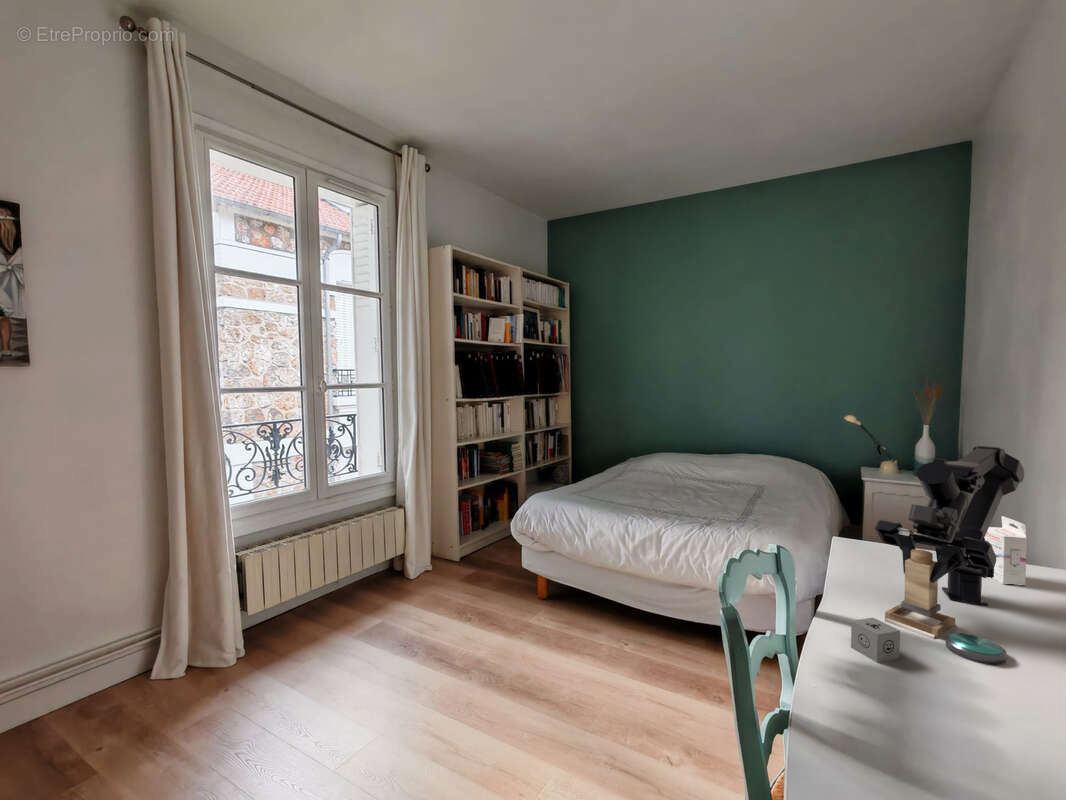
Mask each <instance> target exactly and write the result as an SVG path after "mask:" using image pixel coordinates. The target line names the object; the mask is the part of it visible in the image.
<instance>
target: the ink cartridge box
mask: <svg viewBox="0 0 1066 800" xmlns="http://www.w3.org/2000/svg"><path fill="white" fill-rule="evenodd" d="M1012 525H1014V526H1016V527H1017V528H1016V527H1014V526H1012ZM984 538H985V541H988V542H989V543H990V544H991V545H992V548H993V550H994V553H995V555H996V564H995V567H994V577H993V578H994V579H996V580H998V581H999V582H1001V583H1003V584H1002V585H1005V584H1018V585H1017V586H1019V585H1020V584H1021V585H1025V586H1026V580H1027V579H1026V578H1027V577H1026V573H1027V550H1028V548H1027V546H1028V538H1027V526H1026V524H1024V523H1022V522H1020V521H1017V520H1014V519H1012V518H1009V517H1006V516H1003V515H1002V516H1001V527H995V526H989V528H988V530H987V533H986V535H985V537H984ZM994 579H993V580H994ZM996 580H995V581H996ZM999 582H998V583H999ZM1001 583H1000V584H1001Z"/></svg>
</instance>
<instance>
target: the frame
mask: <svg viewBox="0 0 1066 800" xmlns="http://www.w3.org/2000/svg"><path fill="white" fill-rule="evenodd" d="M884 615H885V616H884V621H885V623H886V622H887V623H889V624H892V625H894V626H898V627H900V628H904V629H905V630H908V631H912V632H914V633H918V634H920V635H923V636H926V637H928V638H931V639H938V638H940V637H941V636H942V635H944V634H946V633H947V632H949V631H950V630H953V628H955V627H956V617H952V616H950V615H947V614H943V613H940V612H936V613H935V614H933V615H931V616H928V615H925V614H922V613H919V612H916V611H913V610H910V609H907V608H904V607H901V603H899V604H897V605H896V606H894V607H891V608H890V609H888V610H886V611H884Z"/></svg>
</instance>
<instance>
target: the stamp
mask: <svg viewBox="0 0 1066 800" xmlns="http://www.w3.org/2000/svg"><path fill="white" fill-rule="evenodd" d="M933 554H934V553H932V552H930V551H928V550H926V549H925V550H924V549H918V548H916V549H913V550H911V558H909V559H907V560H905V574H904V600H903V601H901V603H900V604H901V607H904V608H907V609H910V610H913V611H916V612H919V613H922V614H925V615H928V616H931V615H933V614H935V613H936V612H937V613H939V612H940V611H941V608H942V607H941V604H939V603H938V590H939V589H938V588H939V587H938V585H939V583H938V582H939V579H938V580H937V581H935V582H934V583H932V582H931V581H930V577H931V573H932V571H933V569H934V567H935V565H936V562H937V561H934V559H933V556H934V555H933Z"/></svg>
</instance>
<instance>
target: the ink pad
mask: <svg viewBox="0 0 1066 800" xmlns="http://www.w3.org/2000/svg"><path fill="white" fill-rule="evenodd" d="M945 647H946V648H947V650H949V651H950V652H952V653H953V654H955V655H957V656H959V657H961V658H963V659H965V660H969V661H972V662H975V663H979V664H983V665H992V666H999V665H1004V664H1006V662H1007V651H1006V649H1005V648H1004V647H1002V646H1001V645H1000V644H998V643H995V642H994V641H992V640H989V639H987V638H984V637H981V636H978V635H972V634H968V633H962V632H952V633H948V634H946V636H945Z"/></svg>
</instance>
